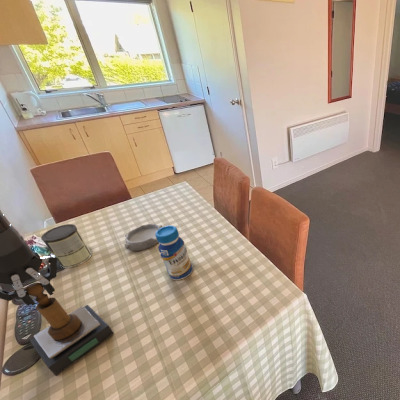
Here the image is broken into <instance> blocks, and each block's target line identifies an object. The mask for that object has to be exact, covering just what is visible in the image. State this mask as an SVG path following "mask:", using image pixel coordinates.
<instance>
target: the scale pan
mask: <svg viewBox="0 0 400 400" xmlns="http://www.w3.org/2000/svg"><path fill="white" fill-rule="evenodd" d="M84 307H85V306H83V305H81V306H79V307H78V308H76V309H75V310H72V311H71V312H69V313H67V314H68V315H69V314H75V315H77V316H78V318H79V319H80V320H81V325H80V327H79V328H78V329H77V330H76V331H75V332H74V333H73V334H72V335H70V336H68V337H66V338H64V339H61V340H54V339H53V338H52V337H51V336H50V335H49V334H48V330H49V327H50V326H51V325H50V324H49V325H48V326H47V327H46V328H45V327H44V328H43V329H42V330H41V331H39V332H37V333H36V334H34V335H33V338H35V339H36V340H37V342H38V343H39V344H40V346H41V347H42V349H43V350H44V351H45V353H46V354H47V356H48V357H49V358H50V359H52V358H53V357H55V356H56V355H58V354H59V353H61V352H62V351H64V350H65V349H67V348H68V347H69V346H71V345H72V344H74V343H75V342H77V341H78V340H80V339H81V338H82V337H84V336H85V335H87V334H88V333H90V332H91V331H93V330H94V329H96V328H97V327H98V326H100V325H101V324H100V323H99V322H98V321H97V320H96V319H95V318H94V317H93V316H92V315H91V314H90V313H89V312H88V311H87V310H86V309H85V308H84Z"/></svg>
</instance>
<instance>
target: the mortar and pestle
mask: <svg viewBox="0 0 400 400" xmlns="http://www.w3.org/2000/svg"><path fill="white" fill-rule="evenodd" d="M25 291H26V293H27V294H28V295H29V296H31V297H35V299H34V301H35V302H37V303H38V304H37V305H36V306H35V308H36V310H37V311H38V313H40V315H41V316H42V317H43V318H44V319H45V320H46V322H47V323H48V324H49V326H50V325H51V326H50V327H49V326H48V327H49V330H48V334H49V335H50V336H51V337H52V338H53V339H54V340H61V339H64V338H66V337H68V336H70V335H72V334H73V333H74V332H75V331H76V330H77V329H78V328H79V327H80V325H81V320H80V319H79V318H78V316H77V315H75V314H70V313H68V312H67V311H66V310H65V309H64V307H63V306H62V305H61V304H60V302H59V300H58V299H57V298H56V297H54V296H53V297H52V296H51V297H49V294H48V293H44V287H43V286H42V284H41V283H40V282H33V283H29V284H28V285H27V286H26V288H25ZM68 314H69V315H68Z"/></svg>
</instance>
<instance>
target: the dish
mask: <svg viewBox="0 0 400 400" xmlns="http://www.w3.org/2000/svg"><path fill="white" fill-rule="evenodd" d="M162 227H163V225H162V224H156V223H147V224H141V225H139V226H137V227H135V228H133V229H131V230H130V231H128V233H125V239H124V240H125V243H124V247H125V248H126V249H129V250H130V251H132V252H133V251H134V252H139V251H144V250H147V249H150V248H152V247H154V246H155V245H156V244H157V243H159V242H158V240H157V238H156V235H155V233H156V231H157V230H159V229H160V228H162Z"/></svg>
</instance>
